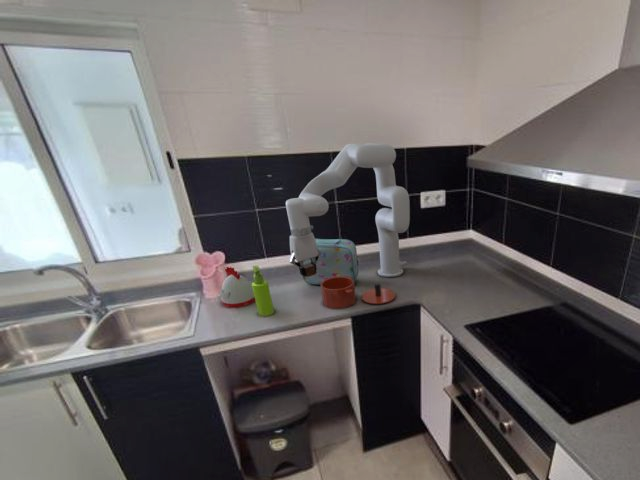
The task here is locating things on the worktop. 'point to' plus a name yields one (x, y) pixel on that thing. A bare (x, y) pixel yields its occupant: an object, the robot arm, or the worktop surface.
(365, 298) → the lid
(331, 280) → the pot
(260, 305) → the soap dispenser
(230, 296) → the kitchen timer
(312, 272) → the block
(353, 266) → the lunch box
